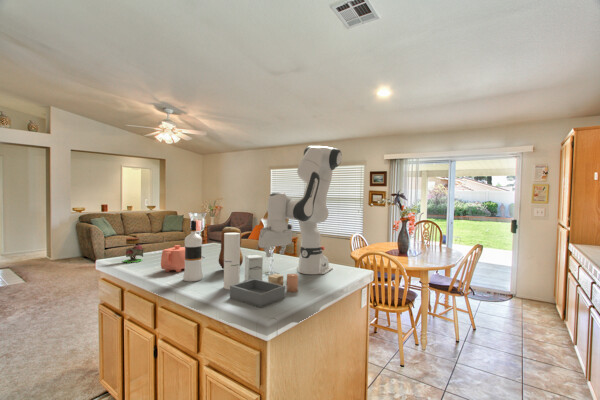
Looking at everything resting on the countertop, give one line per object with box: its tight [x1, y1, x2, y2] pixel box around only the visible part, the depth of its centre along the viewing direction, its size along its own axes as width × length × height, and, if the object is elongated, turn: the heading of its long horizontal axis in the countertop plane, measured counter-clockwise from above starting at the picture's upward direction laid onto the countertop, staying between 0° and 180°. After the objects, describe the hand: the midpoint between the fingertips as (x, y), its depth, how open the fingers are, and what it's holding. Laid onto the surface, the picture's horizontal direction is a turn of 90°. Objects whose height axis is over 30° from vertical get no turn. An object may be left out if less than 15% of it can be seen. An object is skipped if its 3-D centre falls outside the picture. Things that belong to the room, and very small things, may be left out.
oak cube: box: [267, 273, 284, 286], centre depth 137 cm, size 5×5×5 cm
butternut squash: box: [218, 226, 244, 270], centre depth 166 cm, size 14×13×25 cm
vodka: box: [182, 220, 204, 283], centre depth 147 cm, size 9×9×30 cm
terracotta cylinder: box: [286, 273, 299, 293], centre depth 131 cm, size 5×5×7 cm
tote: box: [229, 279, 286, 309], centre depth 120 cm, size 14×18×5 cm
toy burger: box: [122, 237, 146, 264], centre depth 187 cm, size 12×13×15 cm
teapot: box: [160, 244, 185, 273], centre depth 167 cm, size 22×13×14 cm, turn 168°
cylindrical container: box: [223, 233, 241, 290], centre depth 135 cm, size 7×7×25 cm
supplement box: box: [244, 254, 264, 282], centre depth 145 cm, size 7×7×13 cm
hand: (275, 255), depth 137 cm, fingers open, 8 cm apart
